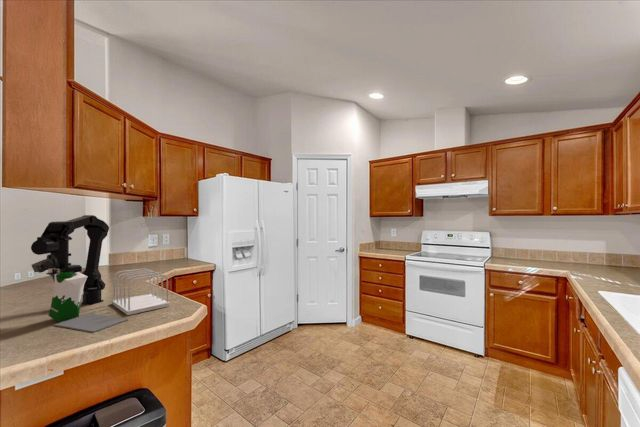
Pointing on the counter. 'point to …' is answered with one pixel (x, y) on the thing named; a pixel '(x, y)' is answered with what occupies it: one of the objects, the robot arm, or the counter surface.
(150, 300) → the file sorter
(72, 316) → the soya milk
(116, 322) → the mat
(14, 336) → the counter surface
